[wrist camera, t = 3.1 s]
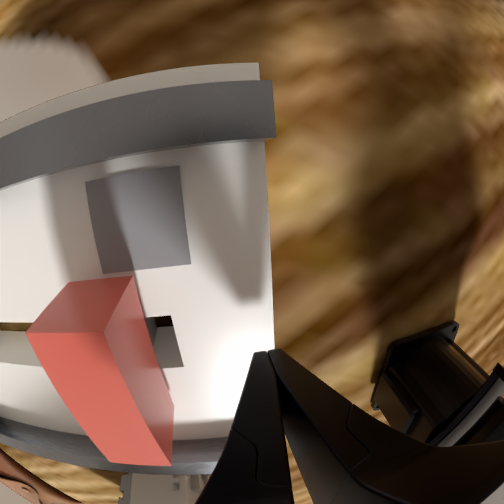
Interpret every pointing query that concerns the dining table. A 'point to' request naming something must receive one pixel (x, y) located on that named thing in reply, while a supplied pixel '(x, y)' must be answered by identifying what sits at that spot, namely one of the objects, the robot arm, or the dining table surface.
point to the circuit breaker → (161, 488)
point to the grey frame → (118, 146)
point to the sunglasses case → (29, 484)
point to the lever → (107, 369)
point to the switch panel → (145, 258)
